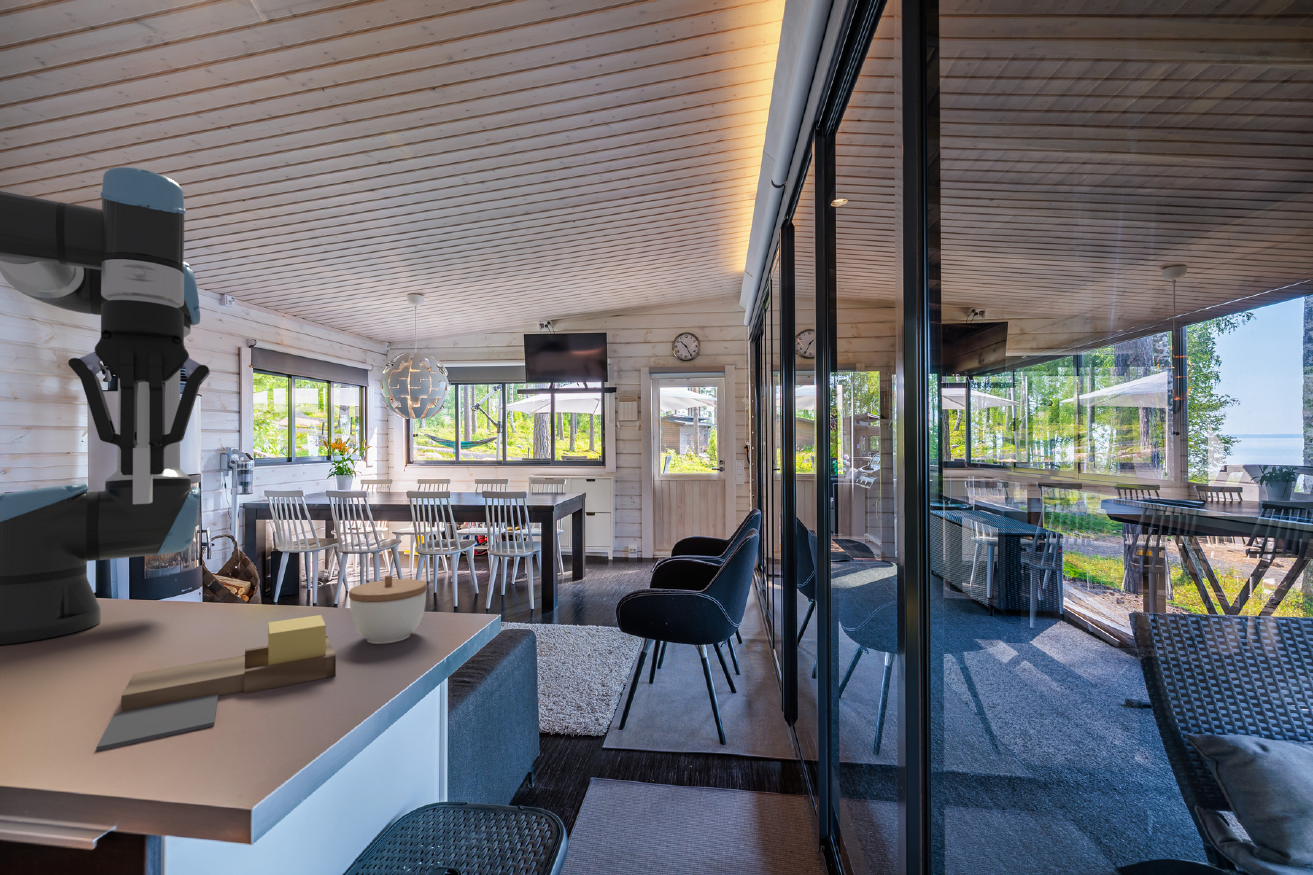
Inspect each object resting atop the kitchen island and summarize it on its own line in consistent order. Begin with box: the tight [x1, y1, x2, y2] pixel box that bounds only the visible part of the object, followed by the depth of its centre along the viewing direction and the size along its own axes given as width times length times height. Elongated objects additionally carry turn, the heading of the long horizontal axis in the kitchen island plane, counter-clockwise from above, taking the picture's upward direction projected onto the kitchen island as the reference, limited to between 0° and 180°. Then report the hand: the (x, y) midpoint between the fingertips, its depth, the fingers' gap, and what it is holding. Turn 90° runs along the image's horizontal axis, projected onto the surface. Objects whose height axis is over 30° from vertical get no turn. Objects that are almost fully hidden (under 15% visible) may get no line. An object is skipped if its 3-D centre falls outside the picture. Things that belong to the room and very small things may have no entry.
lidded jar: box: [348, 574, 427, 645], centre depth 91 cm, size 11×11×9 cm
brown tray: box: [120, 635, 337, 712], centre depth 74 cm, size 10×20×2 cm, turn 124°
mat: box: [95, 694, 219, 752], centre depth 63 cm, size 9×9×1 cm
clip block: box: [267, 614, 327, 665], centre depth 77 cm, size 6×6×6 cm
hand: (142, 502), depth 71 cm, fingers closed
